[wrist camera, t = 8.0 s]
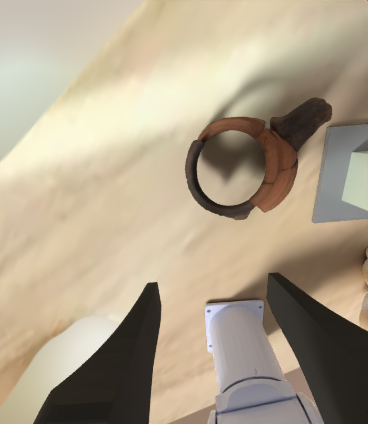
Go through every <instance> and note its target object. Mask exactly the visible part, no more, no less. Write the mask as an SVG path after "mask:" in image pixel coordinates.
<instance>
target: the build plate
mask: <svg viewBox="0 0 368 424" xmlns="http://www.w3.org/2000/svg"><path fill="white" fill-rule="evenodd" d="M361 151H368V124H359V125H349V126H338V127H327V133H326V139H325V145H324V151H323V157H322V163H321V169H320V175H319V181H318V187H317V193H316V199H315V205H314V211H313V217H312V222H313V223H324V222H335V221H347V220H359V219H368V211H367V210H365V209H362V208H360V207H357V206H355V205H352V204H349V203H347V202H344V201H342V196H343V191H344V186H345V182H346V177H347V173H348V168H349V163H350V159H351V154H352V152H361Z"/></svg>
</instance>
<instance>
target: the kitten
mask: <svg viewBox="0 0 368 424" xmlns="http://www.w3.org/2000/svg"><path fill="white" fill-rule="evenodd" d="M366 255H367V258H368V248H367V249H366ZM362 274H363V277H364V279H365V282H366V283H367V285H368V259H367V260H366V261H365V263H364V265H363V267H362ZM359 324H360V327H361V328H363V329H365V330H367V331H368V293H367V294H366V296H365V297H364V300H363V303H362V309H361V313H360V317H359Z"/></svg>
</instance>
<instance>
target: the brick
mask: <svg viewBox="0 0 368 424" xmlns="http://www.w3.org/2000/svg"><path fill="white" fill-rule="evenodd" d="M342 201H344V202H347V203H349V204H352V205H355V206H357V207H360V208H362V209H365V210H367V211H368V151H361V152H352V154H351V159H350V163H349V168H348V173H347V177H346V182H345V186H344V191H343V196H342Z"/></svg>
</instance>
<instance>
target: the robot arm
mask: <svg viewBox="0 0 368 424" xmlns="http://www.w3.org/2000/svg"><path fill="white" fill-rule="evenodd" d="M266 298H267V301H268V303H269V306H270V308H271V311H272V313H273V315H274V317H275V319H276V321H277V323H278V324H279V326H280V328H281V330H282V332H283V334H284V335H285V337H286V339H287V341H288V343H289V345H290V346H291V348H292V350H293V352H294V354H295V356H296V358H297V360H298V362H299V365H300V367H301V369H302V371H303V374H304V376H305V378H306V380H307V383H308V385H309V388H310V390H311V392H312V395H313V397H314V400H315V402H316V405H317V407H318V409H317V407H316V406H315V404H314V403H313V401H312V400H311V399H309V398H308V397H306V396H305V395H304V394H303V393H302V392H299V393H296V395H295V393H294V390H293V388H292V386H291V383H290V381H288V380H287V381H286V379H285V377H284V374H283V372H282V370H281V367H280V365H279V363H278V360H277V358H276V356H275V353H274V351H273V349H272V346H271V344H270V342H269V340H268V337H267V335H266V333H265V330H264V328H263V326H262V324H263V311H264V302H263V300H248V301H235V302H222V303H209V304H206V305H205V319H206V334H207V349H208V352H213V357H214V364H215V371H216V378H217V385H218V391H219V395H218V396H216V397H215V399H216V407H217V410H212V411H211V413H210V417H209V419H208V421H207V424H368V331H367V330H365V329H363V328H361V327H359V326H357V325H355V324H354V323H352V322H350V321H348V320H346V319H345V318H343V317H341V316H340V315H338V314H336V313H335V312H333V311H331V310H330V309H328V308H327V307H325V306H324V305H322V304H321V303H319V302H318V301H316V300H315V299H313V298H312V297H310V296H309V295H308V294H306V293H305V292H303V291H302V290H301V289H299V288H298V287H297V286H295V285H294V284H293V283H291V282H290V281H289V280H288V279H286V278H285V277H284V276H282V275H281V274H280V273H278V272H277V273H269V274H268V286H267V297H266ZM160 321H161V301H160V295H159V289H158V283H157V282H153V283H147V285H146V286H145V288H144V290H143V292H142V293H141V295H140V297H139V298H138V300H137V301H136V303H135V304H134V306H133V307H132V309H131V310H130V312H129V313H128V315H127V316H126V317H125V319H124V320H123V321H122V323H121V324H120V325H119V327H118V328H117V329H116V330H115V331H114V333H113V334H112V335H111V336H110V337H109V338H108V339H107V341H106V342H105V343H104V344H103V345H102V346H101V347H100V348H99V349H98V350H97V351H96V352H95V353H94V354H93V355H92V356H91V357H90V358H89V359H88V360H87V361H86V362H85V363H84V364H82V365H81V367H79V368H78V369H77V370H76V371H75V372H74V373H72V374H71V375H70V376H69V377H68V378H66V379H65V380H64V381H63V382H61V383H60V384H59V385H58V386H56V387H55V388H54V389H53V390H52V391H51V392H50V394H49V395H48V397H47V399H46V400H45V402H44V404H43V406H42V407H41V409H40V411H39V413H38V415H37V417H36V419H35V421H34V423H33V424H149V412H150V398H151V386H152V374H153V365H154V358H155V352H156V346H157V340H158V334H159V328H160ZM318 410H319V411H318Z"/></svg>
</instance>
